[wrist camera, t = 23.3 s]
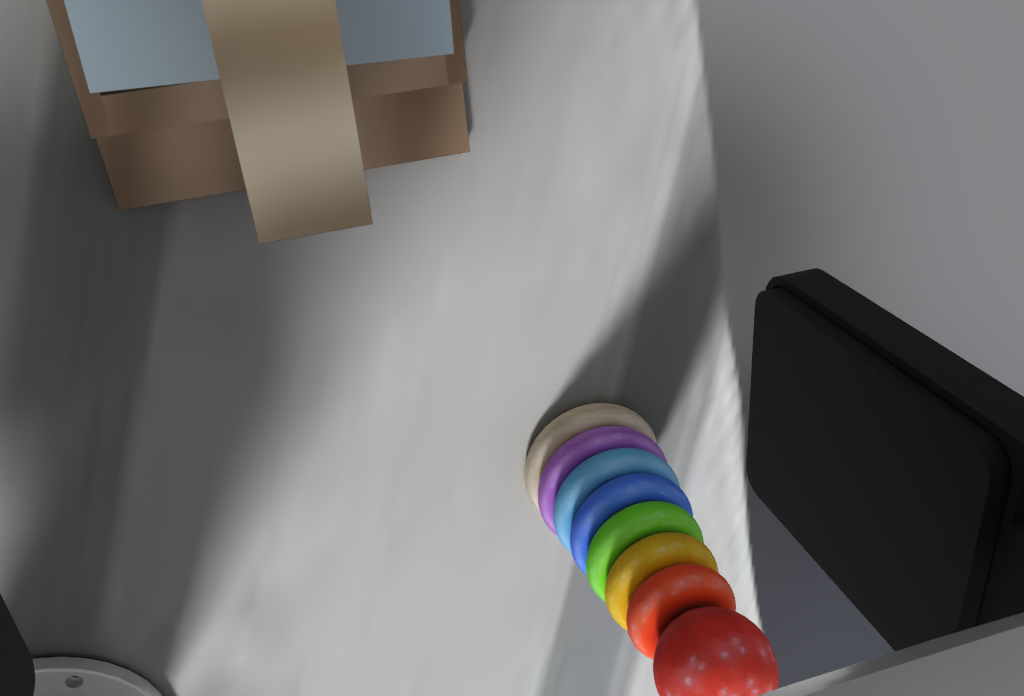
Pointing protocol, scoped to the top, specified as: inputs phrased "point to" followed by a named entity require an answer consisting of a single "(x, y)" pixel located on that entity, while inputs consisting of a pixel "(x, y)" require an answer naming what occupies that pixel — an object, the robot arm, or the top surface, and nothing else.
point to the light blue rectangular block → (188, 49)
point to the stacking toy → (645, 552)
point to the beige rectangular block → (290, 114)
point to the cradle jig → (209, 137)
